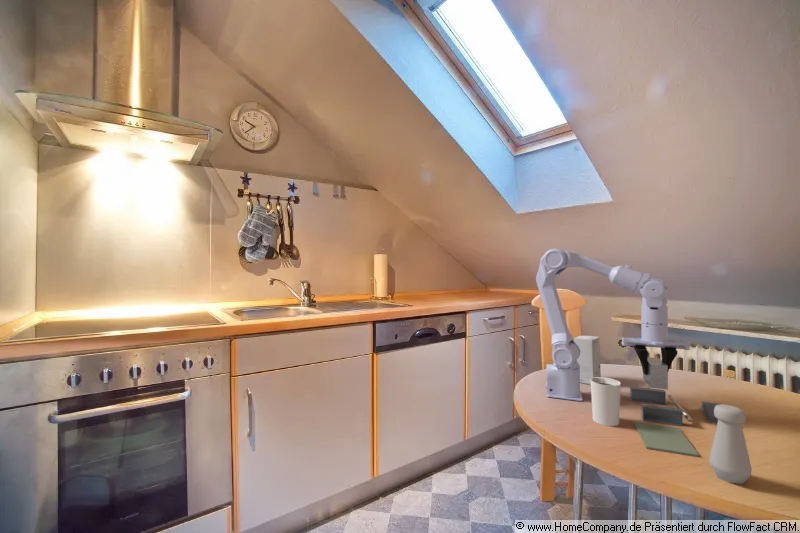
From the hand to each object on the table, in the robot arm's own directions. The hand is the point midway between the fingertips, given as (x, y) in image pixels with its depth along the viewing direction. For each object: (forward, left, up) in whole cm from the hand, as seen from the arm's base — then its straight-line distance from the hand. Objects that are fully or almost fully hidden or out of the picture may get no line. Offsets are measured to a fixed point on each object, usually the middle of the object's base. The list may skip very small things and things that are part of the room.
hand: (654, 374), depth 94 cm
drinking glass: (-13, -11, -10) cm, 20 cm away
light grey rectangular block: (0, 0, -2) cm, 2 cm away
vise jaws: (0, +1, -10) cm, 10 cm away
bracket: (+14, +3, -11) cm, 17 cm away
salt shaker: (+5, -29, -10) cm, 31 cm away
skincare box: (-14, +22, -10) cm, 28 cm away
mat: (-2, -16, -10) cm, 19 cm away
